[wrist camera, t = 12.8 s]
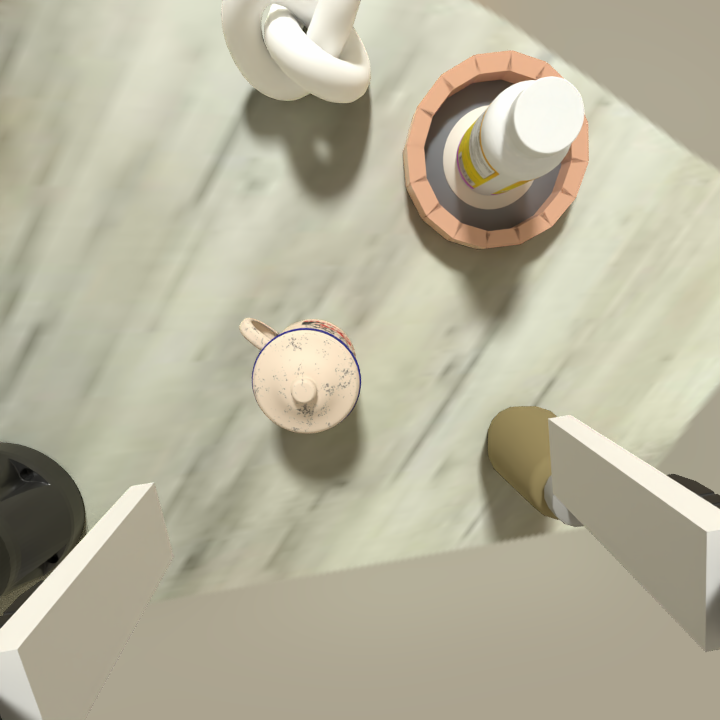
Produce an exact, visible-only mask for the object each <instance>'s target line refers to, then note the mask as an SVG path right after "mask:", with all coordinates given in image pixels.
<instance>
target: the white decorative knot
mask: <svg viewBox="0 0 720 720" xmlns="http://www.w3.org/2000/svg"><path fill="white" fill-rule="evenodd" d="M360 1H361V0H222V9H221V18H222V29H223V33H224V37H225V41H226V45H227V47H228V49H229V52H230V54H231V56H232V59H233V60H234V62H235V64H236V66H237V67H238V69H239V71H240V72H241V74H242V75H243V76H244V78H245V79H246V80H247V81H248V82H249V83H250V84H251V85H252V86H253V87H254V88H255V89H257V90H258V91H259V92H261V93H263V94H264V95H266V96H268V97H270V98H274V99H277V100H283V101H292V100H297V99H300V98H302V97H304V96H306V95H308V94H310V93H311V94H313V95H315V96H317V97H319V98H321V99H323V100H326V101H329V102H335V103H351V102H353V101H355V100H357V99H358V98H360V97H361V96H363V95H364V93H365V92H366V90H367V88H368V85H369V83H370V79H371V72H370V61H369V57H368V54H367V52H366V49H365V47H364V45H363V43H362V41H361V39H360V37H359V35H358V34H357V32H356V30H355V29H354V27H353V24H354V21H355V17H356V14H357V11H358V8H359V4H360ZM271 4H272V5H271ZM269 5H271V8H270V11H269V14H268V17H267V19H266V22H265V25H264V39H263V35H262V29H261V19H262V13H263V11H264V10H265V8H266V7H267V6H269ZM304 25H305V27H306V28H307V29H308V31H307V33H306V34H305V33H304V32H303V31H302V30H303V28H304ZM264 40H265V42H264ZM265 43H266V45H267V47H266V45H265ZM267 48H268V49H267Z"/></svg>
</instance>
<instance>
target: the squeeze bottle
mask: <svg viewBox="0 0 720 720" xmlns="http://www.w3.org/2000/svg"><path fill="white" fill-rule="evenodd" d="M555 417H557V416H556V415H555V414H553V413H552V412H551V411H549V410H546V409H543V408H539V407H536V406H520V407H509V408H507V409H505V410H503V411H501V412H499V413H498V414H497V416H496V417H495V418H494V419H493V420H492V422H491V424H490V427H489V429H488V457H489V459H490V461H491V463H492V465H493V468H494V469H495V470H496V471H497V472H498V473H499V474H500V475H501V476H502V477H503V478H504V479H505V480H506V481H507V482H508V483H509V484H510V485H511V486H512V487H513V488H515V489H516V490H517V491H518V492H519V493H520V494H521V495H522V496H523V497H524V498H525V499H526V500H527V501H528V502H529V503H530V504H531V505H532V506H533V507H534V508H536V509H537V510H538V511H539V512H540V513H542V514H543V515H544V516H548V517H551V518H554V519H557V520H558V519H560V520H561V521H562V522H563V523H564V524H567V525H571V526H574V527H580V526H584V525H583V524H582V523H581V522H580V521H579V520H578V519H577V518H576V517H575V516H574V515H573V514H572V513H571V512H570V511H569V510H568V509H567V508H566V507H565V506H564V505H563V504H562V503H561V502H560V500H559V499H558V498H557V497H556V496H555V495H554V494H553V488H552V472H551V457H550V441H549V426H548V419H549V418H555Z"/></svg>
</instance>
